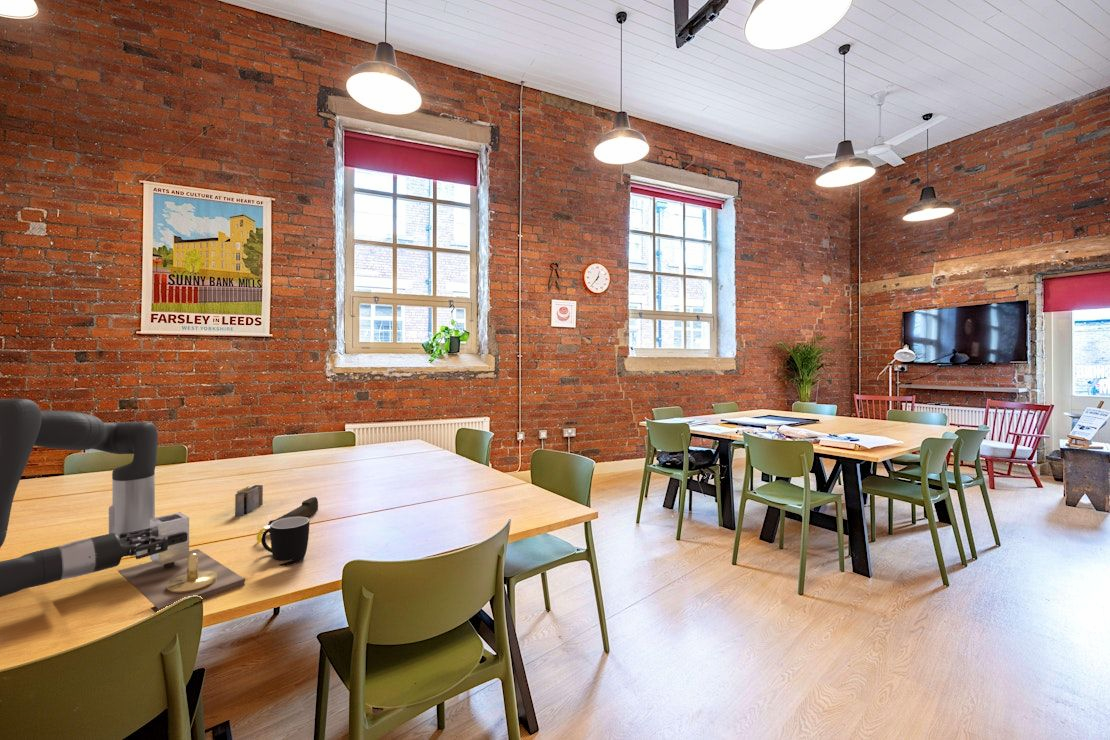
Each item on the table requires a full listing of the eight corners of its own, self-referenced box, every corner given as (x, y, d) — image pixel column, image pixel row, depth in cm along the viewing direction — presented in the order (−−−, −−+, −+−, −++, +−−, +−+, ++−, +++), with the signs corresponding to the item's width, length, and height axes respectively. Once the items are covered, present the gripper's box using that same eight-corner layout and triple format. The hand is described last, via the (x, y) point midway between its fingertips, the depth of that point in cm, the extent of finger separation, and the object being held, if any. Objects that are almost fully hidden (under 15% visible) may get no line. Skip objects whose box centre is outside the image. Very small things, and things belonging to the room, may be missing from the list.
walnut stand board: (117, 576, 112) (117, 533, 112) (197, 554, 125) (197, 515, 125) (158, 615, 96) (157, 564, 96) (244, 585, 110) (244, 540, 109)
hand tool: (281, 536, 140) (282, 517, 139) (266, 535, 140) (267, 516, 140) (326, 511, 162) (326, 495, 162) (313, 510, 163) (313, 495, 163)
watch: (254, 549, 130) (254, 527, 129) (261, 545, 132) (261, 524, 132) (275, 550, 129) (275, 529, 129) (281, 546, 132) (281, 525, 132)
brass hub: (158, 596, 101) (158, 564, 101) (177, 577, 109) (177, 547, 109) (208, 590, 104) (208, 559, 104) (222, 572, 112) (222, 543, 112)
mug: (316, 553, 127) (316, 517, 127) (296, 568, 118) (296, 529, 118) (273, 552, 128) (273, 515, 128) (250, 566, 119) (250, 527, 119)
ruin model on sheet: (244, 517, 156) (244, 488, 155) (235, 517, 155) (235, 488, 155) (263, 506, 167) (264, 479, 167) (255, 506, 167) (255, 479, 166)
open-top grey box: (158, 565, 111) (158, 524, 111) (150, 559, 115) (149, 518, 114) (189, 557, 116) (189, 517, 116) (180, 551, 119) (180, 512, 119)
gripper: (97, 547, 99) (193, 524, 113) (80, 531, 107) (171, 512, 121) (97, 582, 99) (193, 555, 113) (80, 563, 108) (171, 540, 121)
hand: (181, 533), depth 117 cm, fingers closed on open-top grey box, 6 cm apart
